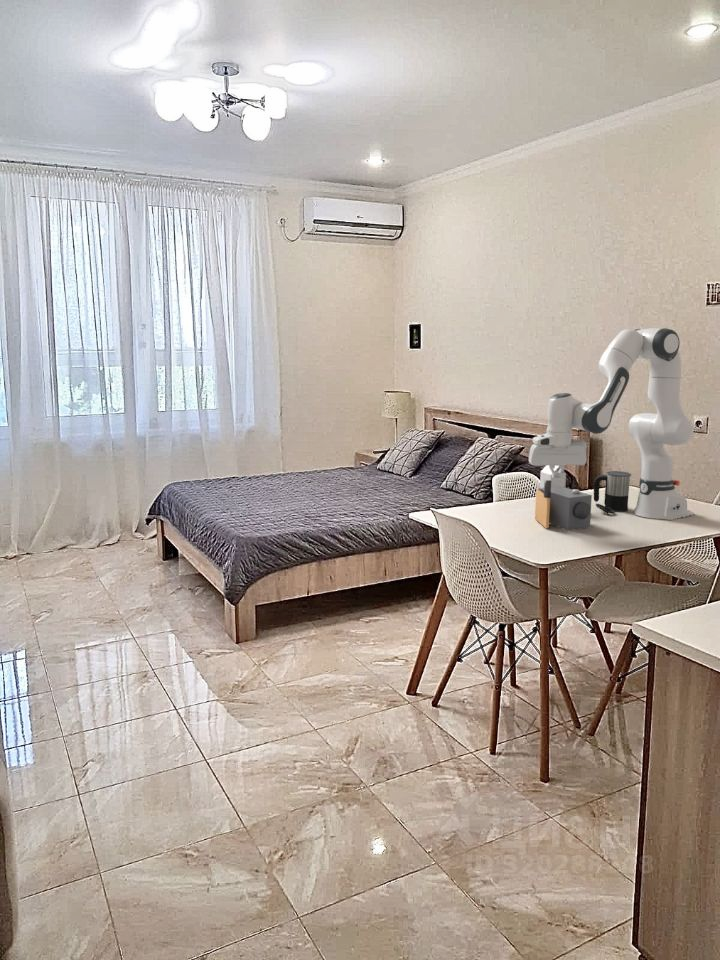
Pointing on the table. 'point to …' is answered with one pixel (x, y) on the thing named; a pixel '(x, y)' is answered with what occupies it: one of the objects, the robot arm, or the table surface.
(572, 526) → the camera body
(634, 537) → the table surface
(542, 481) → the milk carton
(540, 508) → the tan flat panel
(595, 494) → the milk frother
